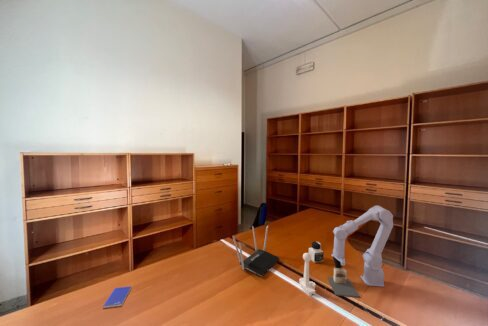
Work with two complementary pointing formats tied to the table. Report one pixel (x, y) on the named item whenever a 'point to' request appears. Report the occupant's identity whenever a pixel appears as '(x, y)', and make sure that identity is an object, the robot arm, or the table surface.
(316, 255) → the medicine bottle
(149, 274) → the table surface
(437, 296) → the table surface
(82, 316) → the table surface
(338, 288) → the mat
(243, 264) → the wireless router
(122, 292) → the hard drive
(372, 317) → the table surface
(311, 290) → the joystick
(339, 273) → the slab
